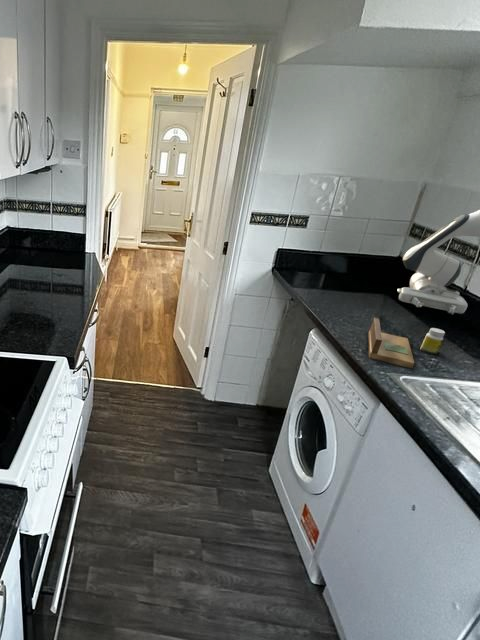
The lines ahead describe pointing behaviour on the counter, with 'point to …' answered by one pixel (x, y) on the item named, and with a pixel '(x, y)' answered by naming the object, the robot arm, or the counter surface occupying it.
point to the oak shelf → (389, 347)
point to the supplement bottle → (432, 341)
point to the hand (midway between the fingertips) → (435, 308)
